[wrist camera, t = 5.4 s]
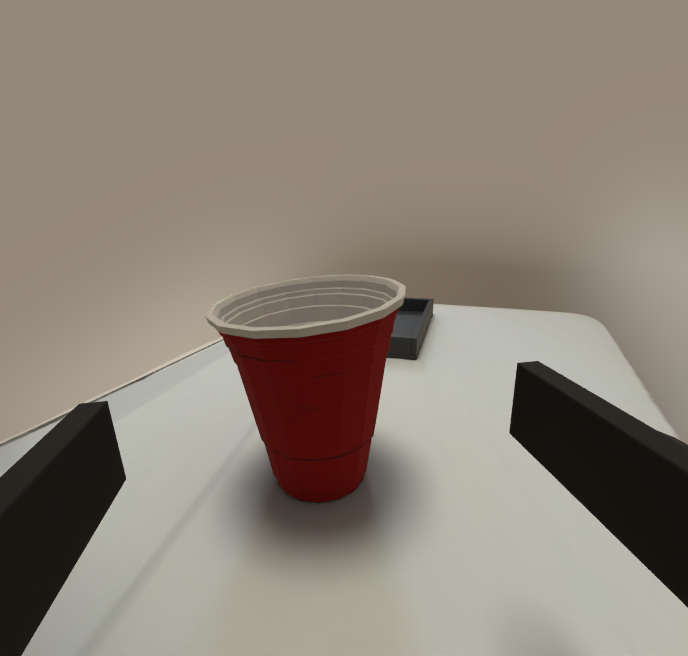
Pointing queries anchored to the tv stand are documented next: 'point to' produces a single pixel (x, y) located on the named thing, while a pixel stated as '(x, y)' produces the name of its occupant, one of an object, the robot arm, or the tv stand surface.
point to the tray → (410, 327)
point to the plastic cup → (313, 373)
